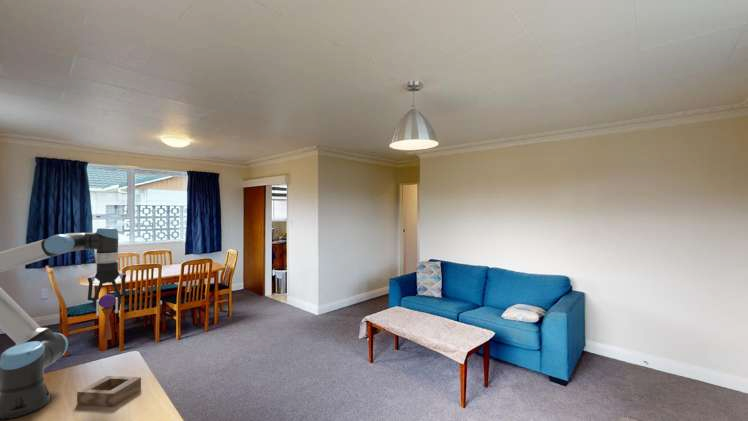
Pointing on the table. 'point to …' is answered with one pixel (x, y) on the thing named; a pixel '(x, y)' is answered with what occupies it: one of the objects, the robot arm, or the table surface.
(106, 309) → the kendama
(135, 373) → the table surface
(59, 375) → the table surface
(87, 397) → the socket block
